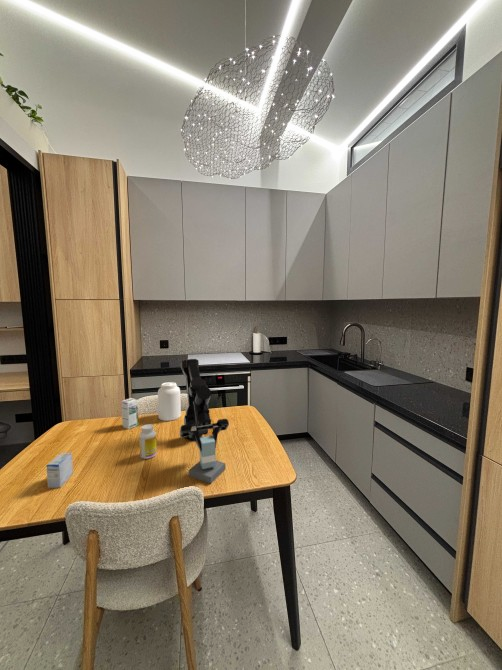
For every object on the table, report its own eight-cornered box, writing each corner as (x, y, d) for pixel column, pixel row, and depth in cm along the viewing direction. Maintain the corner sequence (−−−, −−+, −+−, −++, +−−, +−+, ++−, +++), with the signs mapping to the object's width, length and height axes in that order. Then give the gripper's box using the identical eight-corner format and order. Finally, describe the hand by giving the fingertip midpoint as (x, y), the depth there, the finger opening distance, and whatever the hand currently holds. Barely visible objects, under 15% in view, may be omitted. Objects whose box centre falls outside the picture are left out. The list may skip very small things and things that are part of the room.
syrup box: (128, 429, 142) (127, 402, 140) (122, 426, 145) (121, 400, 143) (138, 425, 147) (137, 399, 145) (131, 423, 150) (130, 397, 148)
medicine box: (61, 474, 103) (59, 452, 102) (73, 474, 103) (72, 452, 103) (47, 488, 95) (45, 464, 94) (60, 487, 96) (59, 464, 95)
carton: (199, 462, 106) (199, 437, 105) (212, 459, 108) (212, 435, 107) (202, 469, 101) (202, 443, 100) (215, 466, 103) (215, 441, 102)
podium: (188, 476, 103) (188, 469, 102) (204, 462, 112) (204, 457, 111) (211, 483, 98) (211, 477, 98) (225, 469, 107) (225, 463, 107)
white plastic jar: (154, 420, 153) (153, 385, 151) (164, 412, 166) (163, 380, 164) (175, 422, 151) (174, 387, 149) (184, 413, 164) (183, 381, 162)
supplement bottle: (159, 452, 119) (159, 424, 118) (149, 460, 113) (148, 430, 112) (147, 450, 121) (146, 422, 120) (136, 457, 115) (135, 428, 114)
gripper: (220, 416, 121) (227, 451, 112) (176, 422, 114) (181, 461, 105) (225, 404, 113) (233, 442, 104) (179, 410, 106) (183, 451, 97)
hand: (208, 449), depth 103 cm, fingers closed on carton, 5 cm apart
